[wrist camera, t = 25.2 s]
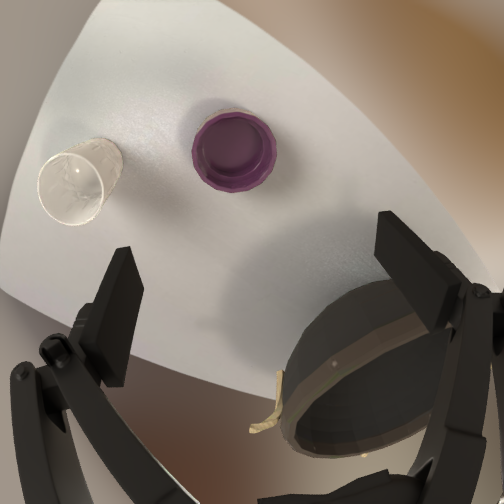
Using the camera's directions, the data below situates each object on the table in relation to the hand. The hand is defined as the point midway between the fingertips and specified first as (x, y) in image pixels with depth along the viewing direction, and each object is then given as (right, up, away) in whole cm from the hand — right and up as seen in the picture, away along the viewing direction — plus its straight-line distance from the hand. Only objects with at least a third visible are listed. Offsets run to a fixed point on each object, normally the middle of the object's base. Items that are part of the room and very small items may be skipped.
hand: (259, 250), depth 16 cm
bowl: (+19, -12, +39) cm, 45 cm away
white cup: (-20, +11, +20) cm, 30 cm away
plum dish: (-3, +13, +21) cm, 25 cm away
